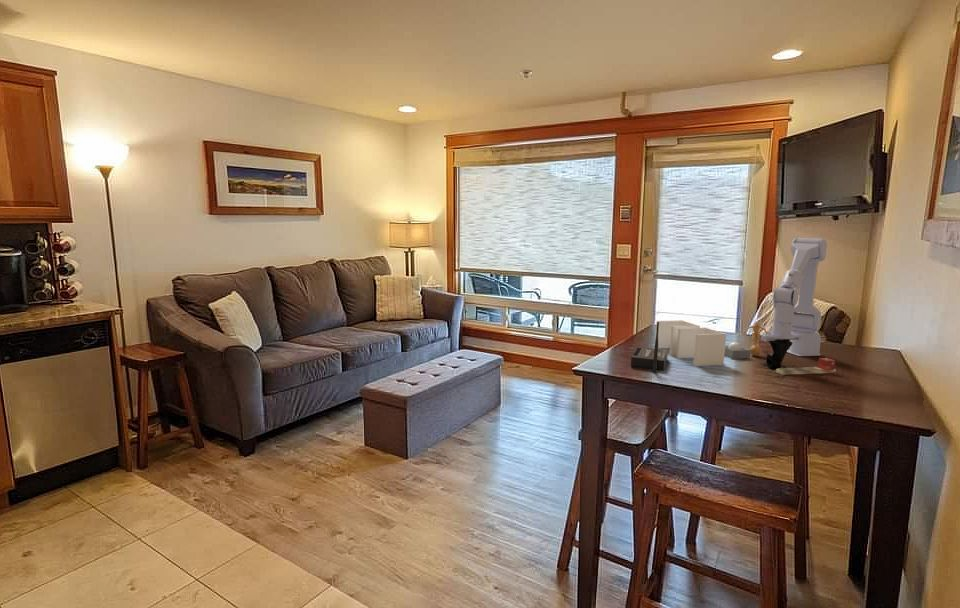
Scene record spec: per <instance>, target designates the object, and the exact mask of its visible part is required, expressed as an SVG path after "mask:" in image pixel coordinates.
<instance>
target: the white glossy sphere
mask: <svg viewBox="0 0 960 608" xmlns="http://www.w3.org/2000/svg"><path fill="white" fill-rule="evenodd" d="M727 346H728V348H730V349H732V350H742V347H743V345H741V343H739V342H737V341H735V342H733V341H732V342H731V343H730V344H729V345H727Z"/></svg>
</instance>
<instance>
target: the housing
mask: <svg viewBox="0 0 960 608" xmlns="http://www.w3.org/2000/svg"><path fill="white" fill-rule="evenodd" d="M728 346H729V345H725V353H724V357H727V358H730V359H734V360H735V359H750V358H751V353H750V351H751V350H750V348H746V347H743V346H742V350H732V349H730V348H728Z"/></svg>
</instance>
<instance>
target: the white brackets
mask: <svg viewBox="0 0 960 608" xmlns="http://www.w3.org/2000/svg"><path fill="white" fill-rule="evenodd" d="M657 322H659V330H658V349H669V355H670V356H676V358H677V359H680V358H681V359H683V358H693V366H696V367H698V366H715V365H716V366H720V365H724V362H725V361H724V360H725V356H724V353H725V346H726V342H727V333H724V332H721V331H719V330H718V331H717V330H715V329H711V328H708V327H701V325H697V324H695V323H692V322H689V321H685V320H682V319H678V320H656V323H655V325H656V326H655V333H656V332H657ZM655 340H656V334H655V339H654V341H655Z"/></svg>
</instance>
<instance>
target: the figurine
mask: <svg viewBox="0 0 960 608" xmlns="http://www.w3.org/2000/svg"><path fill="white" fill-rule="evenodd" d="M750 329H752V330H753V332H752V333H751V335H752V336H751V338H752V346H750V348H749V350H751V351H750V355H752V356H754V357H758V356H760V355H761V354H762V352H763V350H762V347H760V345H759V343H760V341H761V333H760V332H759V331H760V330H763V331H764V332H765V335H766V334H769V332H767V330H766V328H765V327H762V326H760V325H759V323H754V324H753V325H751V326H748V327H746V329H745V331H744V333H743V336H746V334H747V332H748V330H750ZM755 338H757V341H756V344H755V340H756V339H755Z"/></svg>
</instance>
